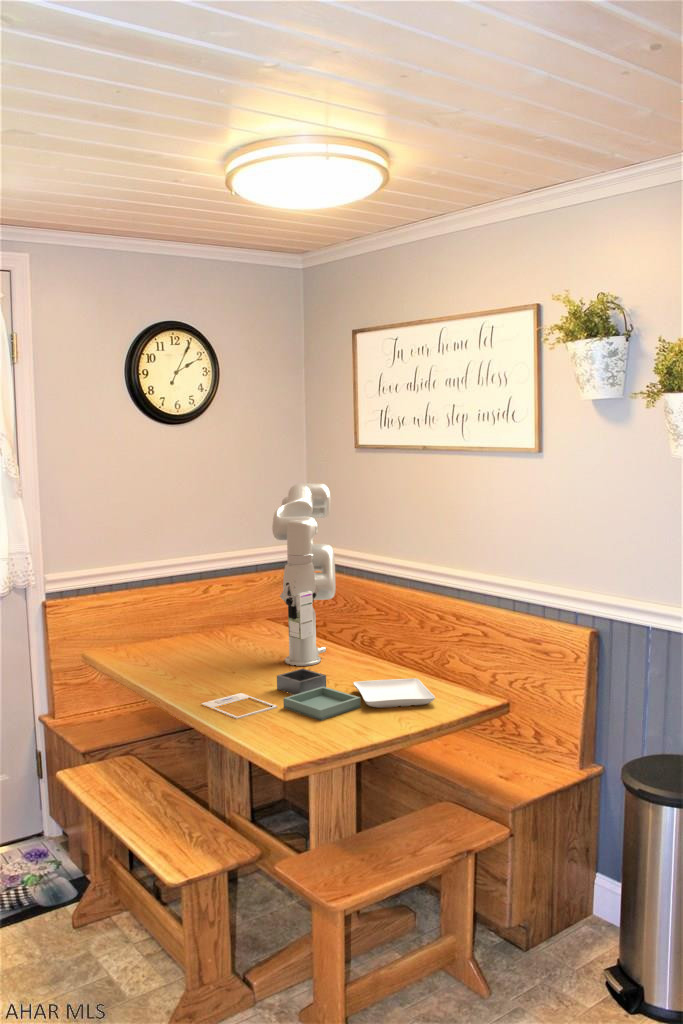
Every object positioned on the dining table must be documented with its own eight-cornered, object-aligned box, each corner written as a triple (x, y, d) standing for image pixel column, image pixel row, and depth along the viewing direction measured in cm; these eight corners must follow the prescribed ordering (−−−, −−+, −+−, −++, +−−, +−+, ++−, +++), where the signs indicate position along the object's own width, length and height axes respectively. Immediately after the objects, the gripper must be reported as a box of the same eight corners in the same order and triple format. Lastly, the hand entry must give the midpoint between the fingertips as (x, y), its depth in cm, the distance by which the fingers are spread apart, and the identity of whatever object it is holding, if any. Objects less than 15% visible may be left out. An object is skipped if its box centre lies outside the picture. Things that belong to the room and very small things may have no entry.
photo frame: (241, 692, 265) (277, 705, 252) (241, 695, 265) (277, 709, 252) (201, 702, 255) (236, 717, 242) (201, 706, 256) (237, 720, 242)
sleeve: (302, 682, 278) (302, 668, 277) (326, 689, 270) (326, 675, 269) (276, 689, 270) (276, 675, 270) (300, 696, 262) (299, 682, 262)
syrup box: (313, 636, 269) (313, 590, 267) (300, 639, 265) (299, 593, 263) (301, 633, 273) (300, 588, 271) (287, 636, 269) (286, 591, 267)
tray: (323, 695, 263) (323, 686, 263) (360, 707, 251) (360, 697, 251) (283, 708, 252) (283, 698, 251) (320, 720, 240) (320, 710, 240)
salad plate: (417, 687, 272) (417, 676, 272) (436, 708, 251) (436, 696, 251) (352, 691, 268) (352, 680, 268) (365, 713, 248) (365, 701, 247)
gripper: (311, 555, 275) (312, 610, 277) (270, 561, 263) (271, 619, 265) (327, 557, 269) (328, 613, 271) (286, 564, 257) (287, 623, 259)
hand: (300, 615), depth 268 cm, fingers closed on syrup box, 5 cm apart
